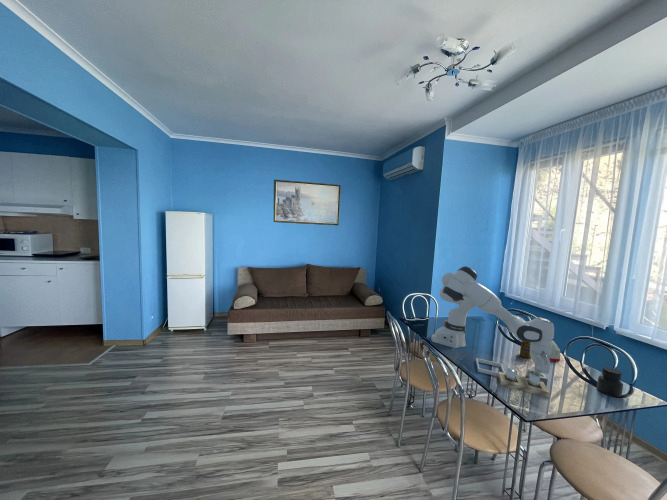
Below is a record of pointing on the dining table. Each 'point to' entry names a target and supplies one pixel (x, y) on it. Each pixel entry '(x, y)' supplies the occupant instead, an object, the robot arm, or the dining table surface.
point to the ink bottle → (610, 382)
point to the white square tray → (489, 364)
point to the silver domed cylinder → (511, 375)
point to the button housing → (543, 378)
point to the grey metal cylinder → (534, 380)
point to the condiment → (525, 351)
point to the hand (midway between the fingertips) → (537, 372)
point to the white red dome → (554, 353)
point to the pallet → (523, 385)
